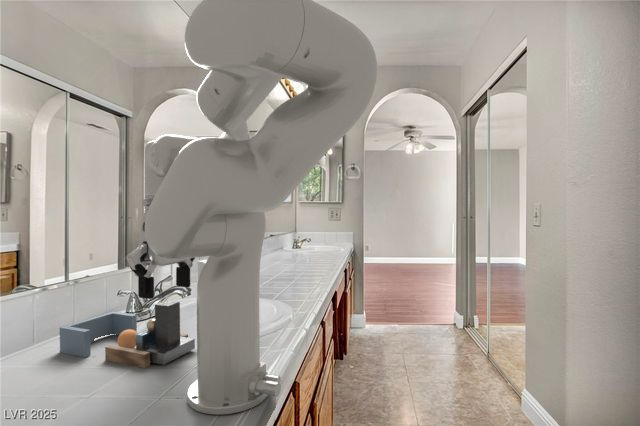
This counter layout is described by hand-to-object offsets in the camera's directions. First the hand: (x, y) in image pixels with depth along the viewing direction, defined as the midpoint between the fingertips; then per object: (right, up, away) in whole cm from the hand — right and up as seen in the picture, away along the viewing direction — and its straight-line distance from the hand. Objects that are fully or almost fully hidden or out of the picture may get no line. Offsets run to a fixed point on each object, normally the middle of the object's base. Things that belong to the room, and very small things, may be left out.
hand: (165, 291), depth 74 cm
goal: (-16, -13, +6) cm, 21 cm away
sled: (0, -12, 0) cm, 12 cm away
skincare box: (+1, -12, +29) cm, 31 cm away
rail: (-4, -13, +2) cm, 13 cm away
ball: (-9, -11, +4) cm, 15 cm away
